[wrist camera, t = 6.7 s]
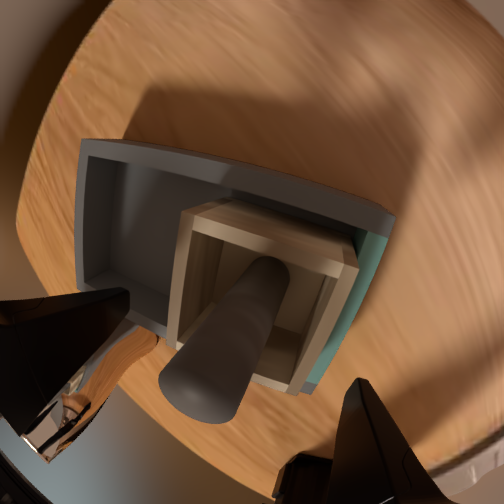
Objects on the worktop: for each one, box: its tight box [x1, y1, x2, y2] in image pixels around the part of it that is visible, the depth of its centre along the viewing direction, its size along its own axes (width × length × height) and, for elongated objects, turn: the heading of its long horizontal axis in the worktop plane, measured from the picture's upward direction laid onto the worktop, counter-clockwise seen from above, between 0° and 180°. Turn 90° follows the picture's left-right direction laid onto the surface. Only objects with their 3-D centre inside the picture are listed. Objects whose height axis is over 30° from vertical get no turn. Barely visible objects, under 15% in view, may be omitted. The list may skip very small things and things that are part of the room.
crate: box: [158, 197, 359, 424], centre depth 11 cm, size 7×7×10 cm
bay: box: [74, 139, 396, 395], centre depth 16 cm, size 18×11×4 cm, turn 77°
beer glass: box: [20, 318, 157, 464], centre depth 15 cm, size 7×7×15 cm
